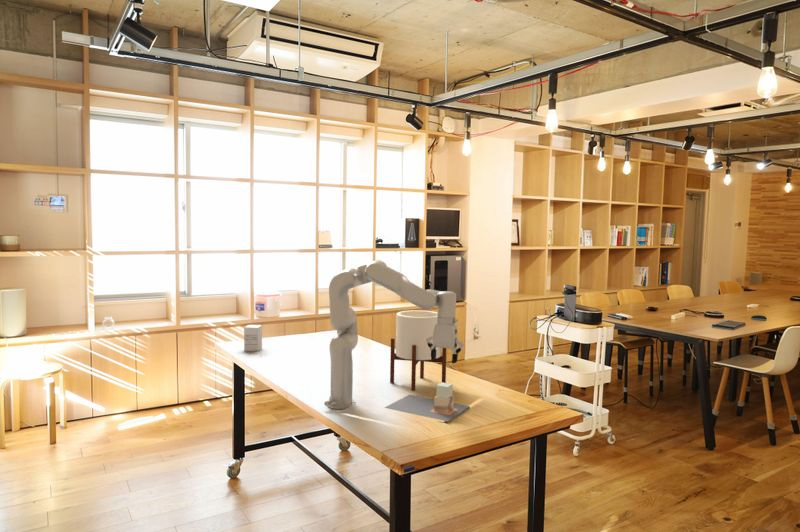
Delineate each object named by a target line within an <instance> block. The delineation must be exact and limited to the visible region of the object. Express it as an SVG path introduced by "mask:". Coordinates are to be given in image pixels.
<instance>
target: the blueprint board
mask: <svg viewBox="0 0 800 532" xmlns="http://www.w3.org/2000/svg"><path fill="white" fill-rule="evenodd" d="M434 401H435V398H429V397H425V396H424V397H423V396H419V395H414V394H408V395H405V396H404V397H402V398H400V399H397V401H394V402H392V403H391V404H388V405H386V406H385V407H384V409H389V410H393V411H399V412H403V413H408V414H413V415H416V416H422V417H426V418H430V419H435V420H439V421H438V423H441V421H443V422H442V424H449V423H450V422H453V421H454V420H455V419H457V418H458V417H459V416H461V415H462V414H464V413H465V412H467V411H468V410H469V409H471V408H470V405H467V404H460V403H456V402H453V410H452V411H450V412H449V413H443V412H438V411H434Z"/></svg>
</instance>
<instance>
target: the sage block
mask: <svg viewBox="0 0 800 532" xmlns="http://www.w3.org/2000/svg"><path fill="white" fill-rule="evenodd" d="M435 394H436V395H435V396H436V397H440V398H446V399H448V398H449V397H451V396H452V395H453V383H450V382H446V383H443V382H442V381H441V382H439V383H438V384H436V393H435Z"/></svg>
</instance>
